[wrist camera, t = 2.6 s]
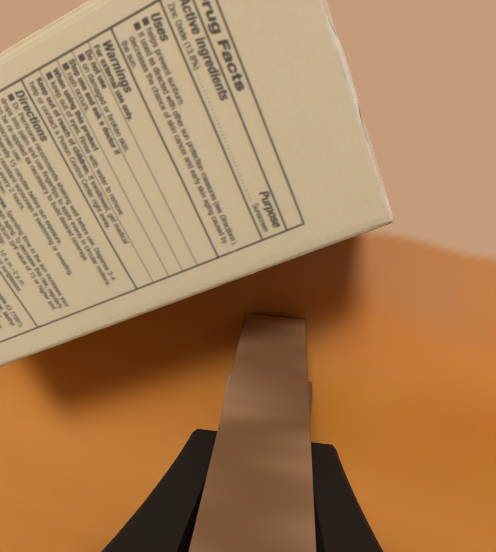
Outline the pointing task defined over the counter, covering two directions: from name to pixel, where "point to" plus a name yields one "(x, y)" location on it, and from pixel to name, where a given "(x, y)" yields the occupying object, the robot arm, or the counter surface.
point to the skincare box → (171, 158)
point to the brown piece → (262, 447)
